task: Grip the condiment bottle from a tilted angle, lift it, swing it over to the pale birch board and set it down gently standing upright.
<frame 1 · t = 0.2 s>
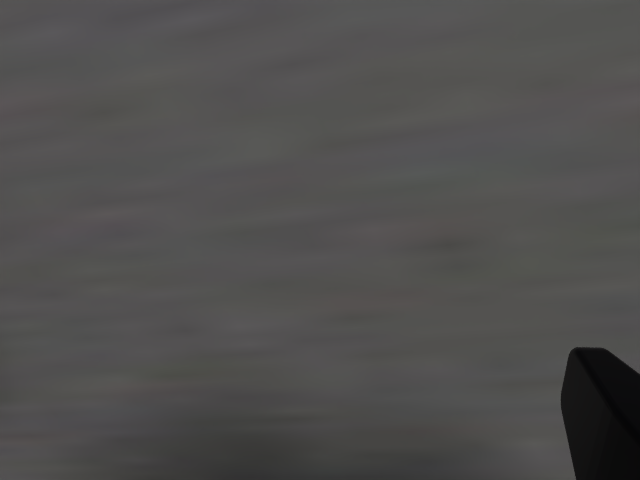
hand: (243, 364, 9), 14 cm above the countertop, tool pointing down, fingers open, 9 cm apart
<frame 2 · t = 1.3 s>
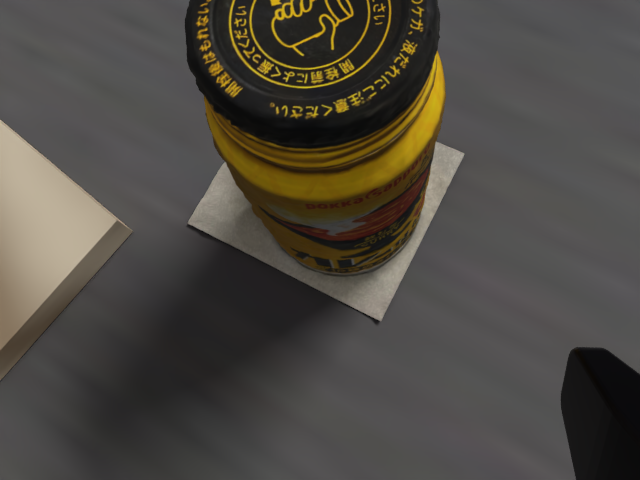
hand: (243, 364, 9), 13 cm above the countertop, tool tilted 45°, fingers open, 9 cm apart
condiment: (325, 192, 24), on the countertop
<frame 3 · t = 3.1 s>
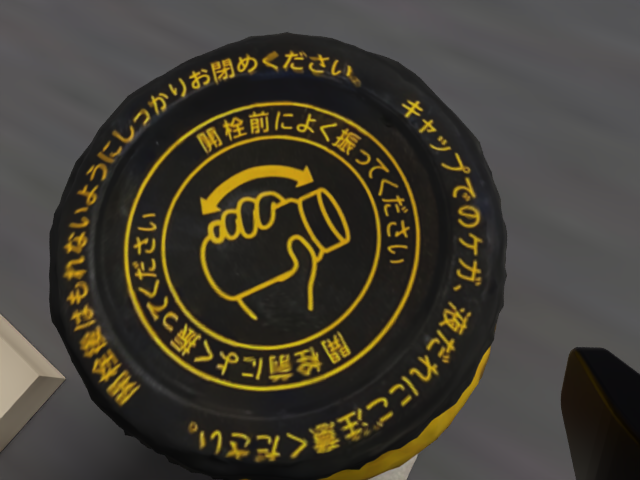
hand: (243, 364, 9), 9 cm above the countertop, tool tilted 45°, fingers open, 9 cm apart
condiment: (316, 330, 18), on the countertop
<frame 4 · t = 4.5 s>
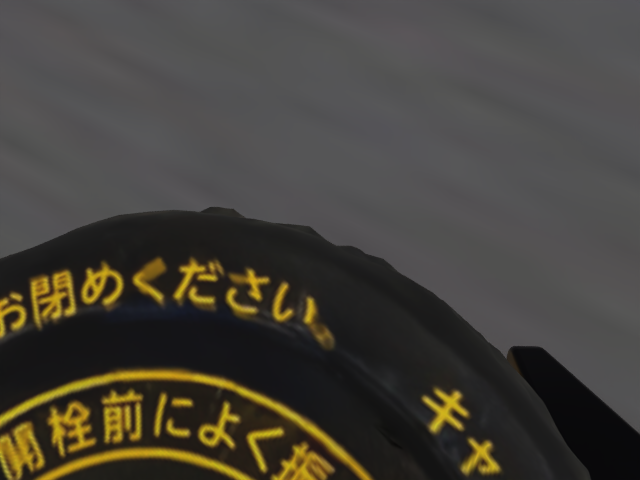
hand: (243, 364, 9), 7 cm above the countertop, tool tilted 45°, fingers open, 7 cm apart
condiment: (300, 442, 15), on the countertop, touching gripper
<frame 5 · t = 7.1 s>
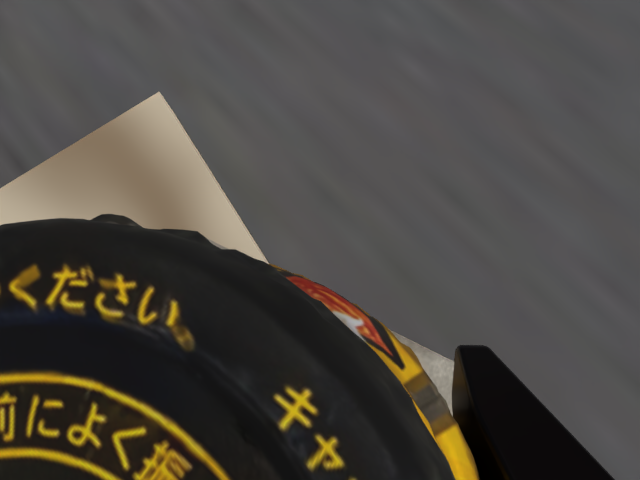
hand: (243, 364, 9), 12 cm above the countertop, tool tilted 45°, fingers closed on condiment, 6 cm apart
condiment: (282, 441, 15), point 5 cm above the countertop, touching gripper
birch board: (9, 446, 21), on the countertop
when the fingers open (9 cm above the countertop, at t = 9.6 s): condiment stays where it is, resting on birch board.
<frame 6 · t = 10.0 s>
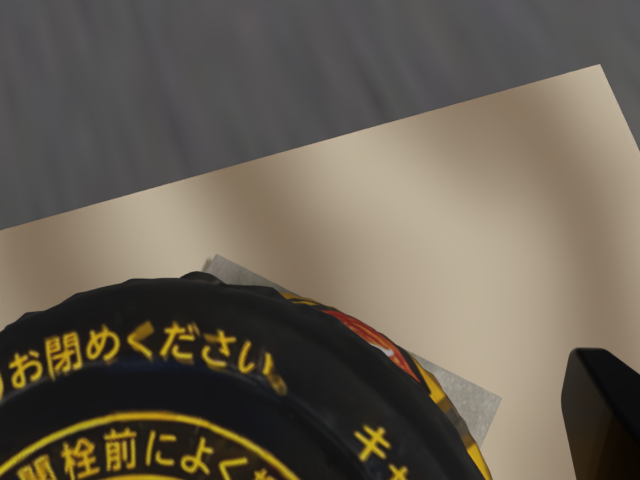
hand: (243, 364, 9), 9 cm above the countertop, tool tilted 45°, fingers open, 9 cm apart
condiment: (290, 449, 16), point 1 cm above the countertop, touching birch board
birch board: (309, 437, 17), on the countertop
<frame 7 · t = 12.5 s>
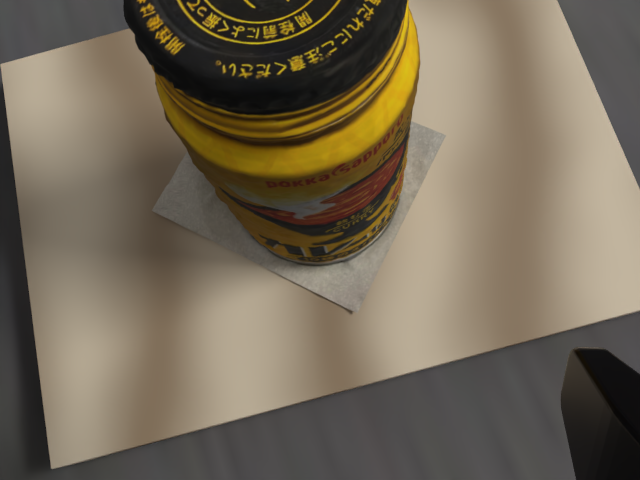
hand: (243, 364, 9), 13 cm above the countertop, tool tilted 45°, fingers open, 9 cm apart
condiment: (299, 177, 22), point 1 cm above the countertop, touching birch board
birch board: (312, 183, 24), on the countertop
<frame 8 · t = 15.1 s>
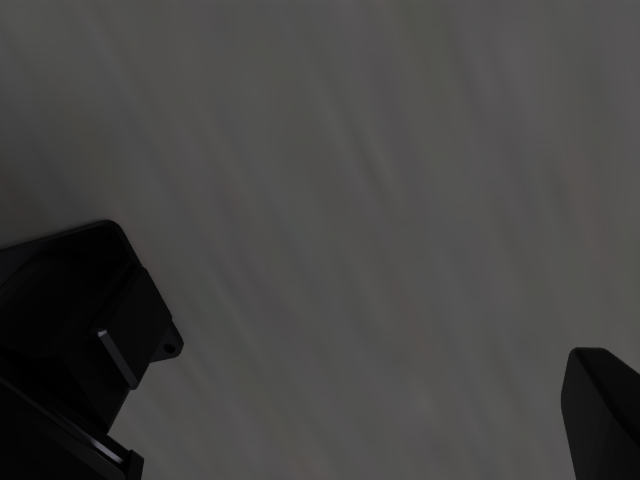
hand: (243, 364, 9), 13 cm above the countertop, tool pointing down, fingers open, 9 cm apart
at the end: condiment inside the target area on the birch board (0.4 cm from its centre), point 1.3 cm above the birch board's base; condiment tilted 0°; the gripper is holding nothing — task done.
